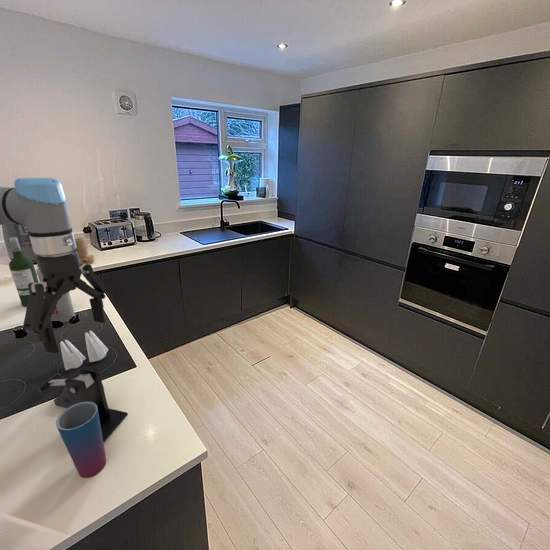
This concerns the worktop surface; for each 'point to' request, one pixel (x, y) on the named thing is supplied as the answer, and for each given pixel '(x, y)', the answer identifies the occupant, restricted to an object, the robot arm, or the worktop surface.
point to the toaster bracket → (95, 400)
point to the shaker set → (75, 358)
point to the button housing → (63, 399)
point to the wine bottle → (21, 271)
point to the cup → (83, 437)
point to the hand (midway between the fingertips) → (78, 335)
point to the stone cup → (83, 251)
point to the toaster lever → (57, 381)
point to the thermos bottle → (60, 305)
